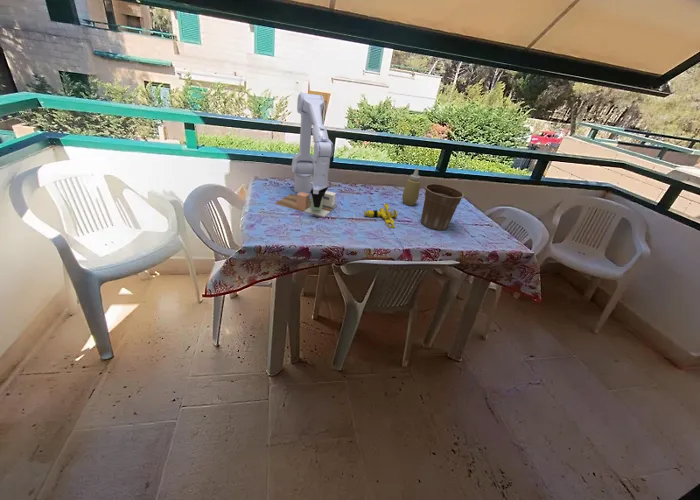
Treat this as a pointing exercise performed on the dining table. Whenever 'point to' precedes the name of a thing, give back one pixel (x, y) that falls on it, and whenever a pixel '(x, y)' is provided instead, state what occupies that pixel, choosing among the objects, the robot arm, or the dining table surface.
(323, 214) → the mat
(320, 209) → the sage block
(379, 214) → the sprinkler
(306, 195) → the terracotta block
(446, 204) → the plant pot
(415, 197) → the squeeze bottle
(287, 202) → the service board
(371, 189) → the dining table surface
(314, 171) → the robot arm
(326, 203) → the mounted unit
